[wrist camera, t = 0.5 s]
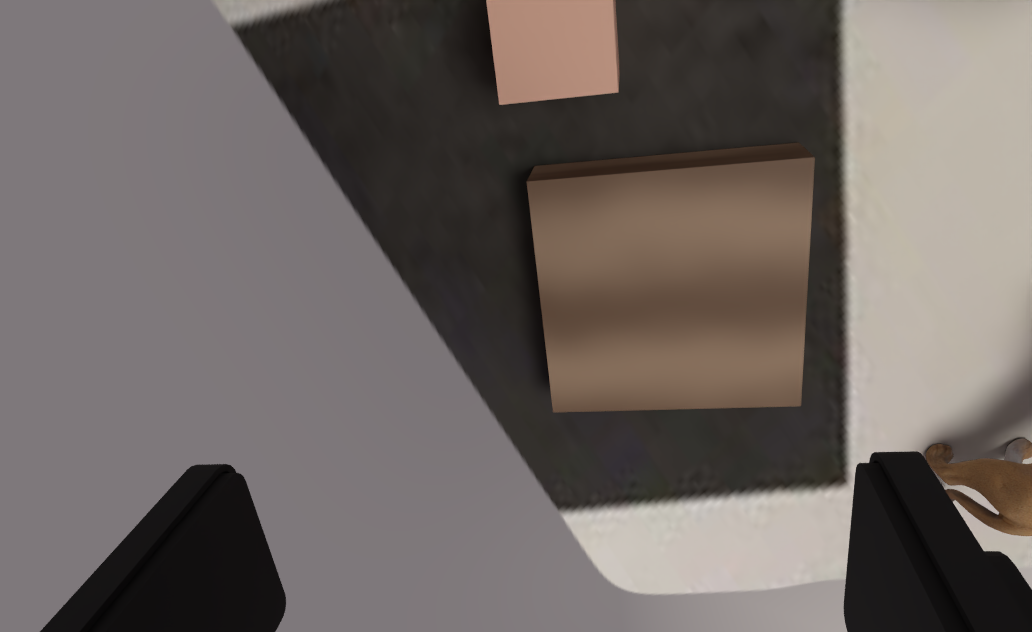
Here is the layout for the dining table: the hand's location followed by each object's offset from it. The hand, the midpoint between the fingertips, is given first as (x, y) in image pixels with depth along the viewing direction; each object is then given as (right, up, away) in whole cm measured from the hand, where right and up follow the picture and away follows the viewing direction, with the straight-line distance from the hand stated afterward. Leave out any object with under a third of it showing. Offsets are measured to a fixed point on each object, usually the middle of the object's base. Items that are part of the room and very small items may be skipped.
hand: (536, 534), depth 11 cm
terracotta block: (+2, +16, +20) cm, 26 cm away
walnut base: (+7, +5, +24) cm, 26 cm away
